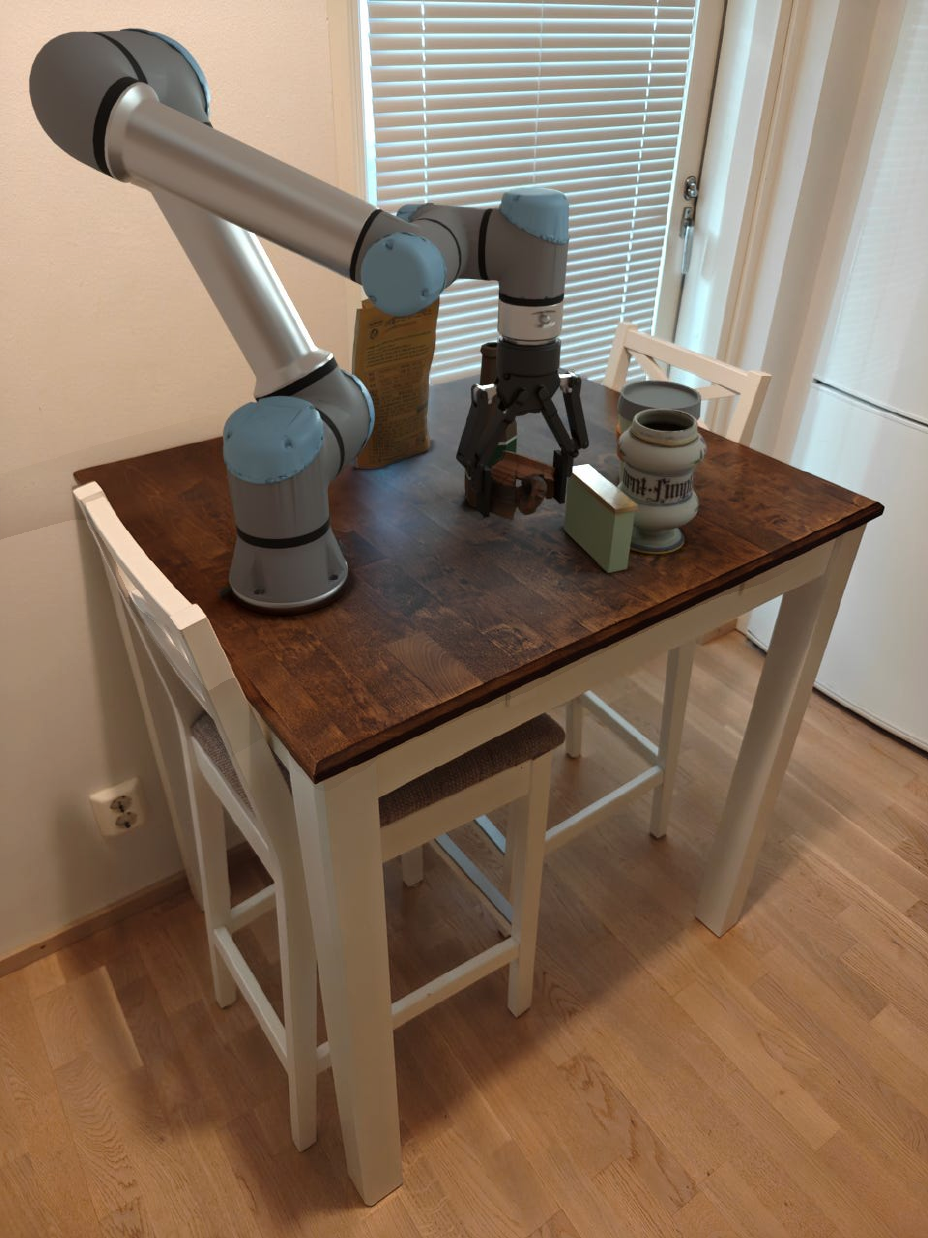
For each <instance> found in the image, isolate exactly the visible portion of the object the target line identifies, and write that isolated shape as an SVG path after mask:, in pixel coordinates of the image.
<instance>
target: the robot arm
mask: <svg viewBox="0 0 928 1238" xmlns="http://www.w3.org/2000/svg"><path fill="white" fill-rule="evenodd" d="M28 92H29V97H30V102H31V107H32V110H33V112H34V114H35V117H36V119H37V121H38V123H39V125H40V126H41V128H42V130H43V131H44V133H45V134H46V135H47V137H49V139H50V140H51V141H52V142H53V143H54V144H55V145H56V146H57V147H58V148H59V149H61V150H62V151H63V152H64V153H65V154H67V155H68V156H70V157H71V158H73V159H74V160H76V161H78V162H80V163H81V164H83V165H85V166H88V167H89V168H90V169H93V170H95V171H97V172H98V173H101V174H103V175H105V176H108V177H110V178H111V179H114V180H116V181H118V182H120V183H124V184H129V183H130V184H131V185H132V186H136V187H138V188H141V189H144V190H146V191H147V192H149V193H150V194H151V196H152V197H153V199H154V201H155V203H156V204H157V206H158V208H159V210H160V211H161V213H162V215H163V217H164V219H165V221H166V222H167V224H168V225H169V227H170V229H171V231H172V232H173V234H174V236H175V237H176V239H177V241H178V243H179V245H180V246H181V248H182V251H184V254H185V255H186V257H187V259H188V261H189V262H190V265H192V267H193V270H194V271H195V272H196V274H197V276H198V278H199V280H200V282H201V283H202V285H203V287H204V288H205V291H206V292H207V294H208V295H209V298H210V299H211V301H212V303H213V304H214V306H215V308H216V309H217V311H218V313H219V315H220V317H221V318H222V320H223V322H224V323H225V325H226V327H227V329H228V330H229V332H230V334H231V337H232V338H233V339H234V341H235V343H236V345H237V346H238V349H239V350H240V351H241V353H242V355H243V357H244V359H245V360H246V363H247V364H248V366H249V367H250V369H251V371H252V373H253V374H254V377H255V385H254V390H253V394H252V396H253V398H254V399H255V402H254V401H249V402H247V403H245V404H243V405H242V406H239V407H238V408H237V409H235V410H234V411H233V412H232V413H231V414H230V415H229V416H228V417H227V419H226V421H225V423H224V425H223V430H222V441H223V446H222V456H223V461H224V464H225V468H226V473H227V480H228V486H229V492H230V498H231V505H232V511H233V512H232V513H233V517H234V521H235V522H234V523H235V531H236V541H235V545H234V550H233V555H232V559H231V564H230V569H229V574H228V582H229V584H228V585H227V586H225V587H223V588H222V589H221V590H219V591H218V595H219V596H220V598H221V599H224V598H226V597H227V596H229V595H230V594H231V596H232V598H233V600H235V602H236V603H238V604H239V605H240V606H241V607H243V608H245V609H247V610H249V611H252V612H254V613H259V614H263V615H270V616H295V615H300V614H306V613H310V612H314V611H316V610H320V609H323V608H325V607H326V606H329V605H331V604H332V603H334V602H335V601H337V600H338V599H339V598H340V597H341V596H343V594H344V593H345V592H346V590H347V588H348V586H349V582H350V581H349V578H350V577H349V567H348V562H347V560H346V558H347V559H348V558H349V555H348V554H349V553H348V547H346V545H345V544H344V543H343V541H342V540H341V539H340V538H338V541H337V539H336V536H335V534H334V532H333V530H332V527H331V519H330V518H331V517H330V507H329V506H330V505H329V493H328V489H329V486H330V485H331V484H332V482H334V480H335V479H336V478H337V477H338V476H339V475H340V474H341V472H342V471H343V470H344V469H345V468H346V467H347V466H348V465H349V464H350V463H351V462H352V461H353V460H355V458H357V455H359V454H360V452H361V451H362V450H363V448H364V446H365V445H366V442H367V440H368V439H369V437H370V435H371V433H372V430H373V427H374V420H375V412H374V406H373V402H372V399H371V396H370V394H369V392H368V390H367V389H366V387H365V386H364V384H363V383H362V382H361V381H360V380H359V379H358V378H357V377H356V376H354V375H352V373H349V372H347V371H346V370H345V369H342V368H340V366H339V364H338V362H337V360H336V358H335V357H334V354H333V353H332V352H330V351H327V350H325V349H322V348H319V347H317V346H316V345H315V344H314V342H313V340H312V338H311V336H310V334H309V333H308V330H307V328H306V327H305V325H304V323H303V321H302V318H300V316H299V313H298V312H297V310H296V307H295V306H294V304H293V302H292V301H291V299H290V297H289V295H288V293H287V291H286V290H285V289H286V288H285V287H284V286H283V284H282V282H281V280H280V278H279V276H278V274H277V273H276V271H275V269H274V267H273V265H272V263H271V261H270V259H269V257H268V256H267V254H266V252H265V250H264V248H263V246H262V244H261V243H260V240H259V239H258V237H259V238H261V239H263V240H265V241H268V242H270V243H272V244H274V245H276V246H278V247H280V248H282V249H284V250H286V251H289V252H290V253H293V254H295V255H297V256H299V257H301V258H302V259H305V260H307V261H309V262H312V263H313V264H316V265H318V266H319V267H322V268H323V269H325V270H328V271H331V272H333V273H335V274H337V275H338V276H341V277H342V278H345V279H348V280H349V281H351V282H353V283H355V284H357V285H359V286H361V287H362V289H363V292H364V293H365V295H366V297H367V299H368V298H369V299H370V301H371V302H372V303H373V304H374V305H375V307H377V308H378V309H379V310H381V311H382V312H384V313H386V314H389V315H392V316H408V315H412V314H414V313H416V312H418V311H420V310H422V309H424V308H426V307H428V306H430V305H431V304H432V303H433V302H434V301H436V300H437V298H438V297H439V295H440V296H441V294H442V293H443V292H444V291H445V290H446V289H448V288H449V287H450V286H451V285H452V284H453V283H455V282H456V281H457V280H474V281H475V280H476V281H485V282H486V281H487V282H492V281H495V282H498V283H497V284H498V298H497V300H498V301H497V323H496V324H497V325H496V328H497V329H496V331H497V333H498V334H499V336H498V337H497V339H496V342H497V360H496V367H497V376H496V378H495V380H494V382H493V384H490V385H485V386H480V383H479V384H478V383H474V384H472V385H471V387H470V406H469V410H468V412H467V415H466V418H467V420H466V419H465V423H464V427H463V431H462V434H461V437H460V441H459V444H458V448H457V452H456V454H455V459H456V461H457V462H458V463H459V464H460V465H461V466H462V467H463V468H464V469H465V468H466V469H467V468H471V479H470V481H471V482H470V486H471V488H472V490H473V491H474V492H475V493H477V497H476V508H475V509H476V510H477V512H478V513H479V514H480V515H481V516H482V517H483V519H487V518H488V519H489V518H490V517H491V512H490V492H491V470H490V469H489V468H488V467H487V466H486V465H487V464H488V462H489V460H490V458H491V456H492V455H493V453H494V451H495V449H496V447H497V445H498V444H499V442H500V440H501V438H502V436H503V435H504V433H505V431H506V429H507V427H508V426H509V424H511V423H513V421H514V419H515V420H516V418H517V417H521V416H522V417H523V416H524V415H528V414H534V415H535V414H540V413H541V416H542V417H543V418H544V421H545V422H546V424H547V426H548V428H549V430H550V431H551V434H552V435H553V437H554V439H555V441H556V443H557V445H558V447H559V448H560V449H554V450H553V455H552V467H553V468H555V472H554V473H553V479H554V495H553V498H552V499H553V500H555V501H556V502H557V503H558V504H559V505H562V504H566V495H567V483H568V477H571V475H572V473H573V467H574V461H575V460H574V459H576V458H577V457H579V455H580V451H579V450H581V449H582V450H587V448H589V446H590V440H589V436H588V431H587V426H586V420H585V415H584V409H583V404H582V400H581V389H582V380H583V379H582V378H581V377H580V376H578V375H576V374H575V373H573V372H572V371H570V370H568V371H566V372H565V373H564V374H559V368H560V364H561V349H562V339H560V337H559V336H560V335H561V334H562V332H563V319H564V318H563V317H564V303H565V290H566V277H567V275H566V274H567V267H568V265H567V264H568V255H569V254H568V253H569V243H570V234H569V233H570V232H569V228H570V227H569V225H570V223H569V222H570V202H569V199H568V197H567V196H566V194H564V192H562V191H560V190H557V189H553V188H548V187H547V188H546V187H536V186H535V187H534V186H533V187H515V188H510V189H507V190H505V191H504V192H503V194H502V195H501V199H500V204H499V206H498V207H487V208H486V207H473V206H461V205H459V206H458V205H447V204H445V205H444V204H435V203H434V202H425V203H406V204H404V205H402V206H401V207H399V209H397V212H396V214H395V215H394V214H392V213H390V212H387V211H386V210H383V209H381V208H380V207H378V206H376V205H374V204H371V203H370V202H367V201H366V200H364V199H362V198H359V197H357V196H356V195H353V194H351V193H349V192H348V191H345V190H343V189H340V188H338V187H337V186H335V185H333V184H330V183H328V182H327V181H324V180H322V179H320V178H318V177H316V176H314V175H311V174H309V173H307V172H305V171H303V170H301V169H299V168H297V167H295V166H293V165H290V164H289V163H286V162H285V161H282V160H281V159H279V158H276V157H274V156H272V155H270V154H268V153H266V152H263V151H261V150H260V149H257V148H255V147H253V146H251V145H249V144H247V143H245V142H244V141H241V140H239V139H237V138H235V137H232V136H231V135H228V134H226V133H224V132H222V131H221V130H218V129H216V128H214V127H213V125H212V122H211V120H210V119H209V118H210V115H211V114H210V113H211V110H210V103H211V102H212V101H211V93H210V88H209V84H208V81H207V79H206V76H205V74H204V72H203V70H202V68H201V66H200V64H199V62H198V61H197V59H196V58H195V57H194V56H193V55H192V54H191V53H190V51H189V49H187V48H186V47H185V46H183V45H182V44H181V43H180V42H178V41H177V40H175V39H174V38H172V37H170V36H168V35H166V34H163V33H161V32H157V31H152V30H148V29H146V28H138V27H135V28H133V27H129V28H128V27H127V28H122V29H119V30H102V31H69V32H65V33H61V34H59V35H57V36H55V37H53V38H51V39H50V40H49V41H47V42H46V43H45V44H43V46H42V47H41V48H40V49H39V51H38V52H37V54H36V55H35V58H34V59H33V62H32V65H31V67H30V72H29V78H28ZM257 236H258V237H257ZM558 389H560V391H562V398H563V403H564V408H565V412H566V417H567V418H566V419H567V422H568V426H569V431H570V435H569V433H568V430H567V429H566V427H565V425H564V423H563V421H562V419H561V417H560V415H559V413H558V409H557V407H556V405H555V404H554V402H553V400H552V398H553V397H554V395H555V394H556V392H557V390H558ZM494 395H497V396H498V398H499V400H498V402H497V404H496V406H495V408H494V414H493V416H492V418H491V419H490V421H489V423H488V425H487V427H486V429H485V430H484V432H483V434H482V436H481V433H482V430H483V426H484V423H485V419H486V416H487V412H488V404H491V403H492V398H493V396H494ZM506 409H507V412H506V411H505V410H506ZM480 436H481V438H480ZM344 555H345V556H346V558H345V556H344Z"/></svg>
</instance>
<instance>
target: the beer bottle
mask: <svg viewBox="0 0 928 1238" xmlns="http://www.w3.org/2000/svg"><path fill="white" fill-rule="evenodd" d="M479 352H480V354H481V364H480V374H479V375H480V376H479V385H480V386H485V385H490V384H493V382H494V380H495V378H496V376H497V367H496V360H497V341H491V342H490V341H488V342H486V343H483V344H481V347H480V350H479ZM498 400H499V398H498V396H497V395H494V396H493V398H492V403H491V404H488V412H487V416H486V419H485V423H484V426H483V430H482V433H481V436H482V434H483V432H484V430H485V429H486V427H487V425H488V423H489V421H490V419H491V418H492V416H493V414H494V408H495V406H496V404H497V402H498ZM505 411H506V412H507V409H506V410H505ZM466 420H467V417H466V419H465V421H466ZM517 424H518V423H517V420H516V418H515V419H514V421H513V423H511V424H509V426H508V427H507V429H506V431H505V433H504V435H503V436H502V438H501V440H500V442H499V444H498V445H497V447H496V449H495V451H494V453H493V455H492V456H491V458H490V460H489V462H488V464H487V465H486V466H487V467H488V468H490V466H491V465H492V464H493V463H494V462H496V461H497V460H499V459H500V458H501V457H502V454H501V452H502V451H510V452H514V453H517V445H518V425H517ZM481 436H480V438H481ZM470 479H471V468H467V469H466V468H464V482H463V483H464V497H465V498H466V501H467V503H468V505H469V506H470V507H473V508H475V509H476V497H477V493H475V492H474V491H473V490H472V488H471V486H470V482H471V481H470Z"/></svg>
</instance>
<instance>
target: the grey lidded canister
mask: <svg viewBox="0 0 928 1238" xmlns="http://www.w3.org/2000/svg"><path fill="white" fill-rule="evenodd" d="M701 405H702V395H701V394H700V392H699V391H697V390H696V389H695V388H693V387H690V386H688V385H686V384H682V383H679V382H674V381H668V380H659V379H658V380H657V379H655V380H654V379H648V380H647V379H646V380H638V381H633V382H630V383H627V384H625V385H624V386H622V388H621V389H620V393H619V397H618V401H617V405H616V411H617V413H618V423H617V424H616V428H615V429H616V430H615V431H616V432H615V434H616V435H615V437H616V439H615V440H616V442H615V443H616V455H617V458H618V460H619V461H618V462H619V465H618V466H619V484H620V483H621V482H622V480H623V473H624V464H625V460H624V459H623V458H622V456H621V455H620V453H619V450H618V441H619V438H620V436H621V435H622V434H623V432H624V431H625V430H627V429H628V428H630V427H631V425H632V423H633V419H634V417H635V415H636V414H638V413H639V412H642V411H644V410H648V409H673V410H679V411H683V412H686V413H688V414H690V415H692V416H693V417H695V418H696V420H697V421H699V420H700V417H701V409H702V408H701V407H702V406H701Z"/></svg>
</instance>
